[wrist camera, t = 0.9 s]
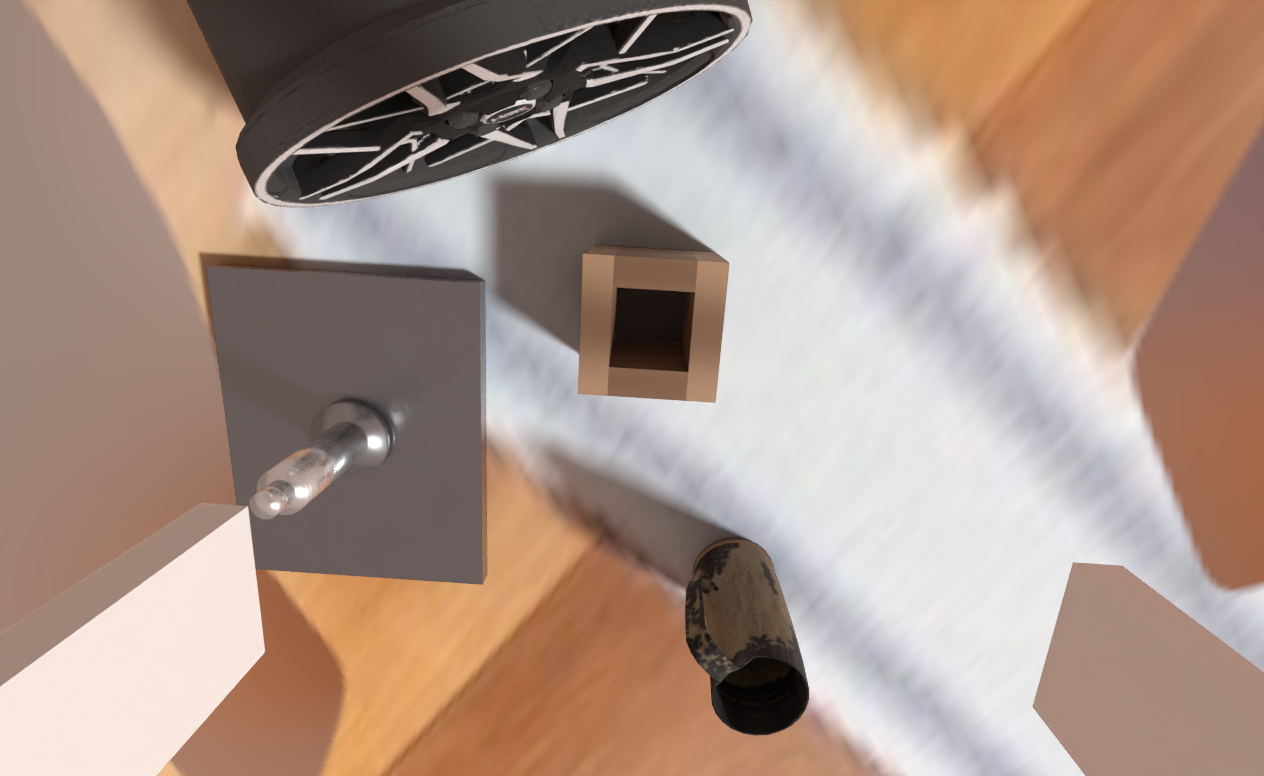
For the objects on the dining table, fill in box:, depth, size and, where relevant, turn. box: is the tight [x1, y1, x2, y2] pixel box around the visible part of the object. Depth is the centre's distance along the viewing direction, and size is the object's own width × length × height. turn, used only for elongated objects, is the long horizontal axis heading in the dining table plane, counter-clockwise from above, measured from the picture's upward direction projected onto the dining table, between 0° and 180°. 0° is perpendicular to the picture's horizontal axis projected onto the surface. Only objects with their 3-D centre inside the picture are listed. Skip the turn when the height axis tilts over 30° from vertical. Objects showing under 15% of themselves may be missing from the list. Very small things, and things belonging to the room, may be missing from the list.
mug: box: [685, 538, 809, 735], centre depth 37 cm, size 8×6×12 cm
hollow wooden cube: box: [578, 245, 729, 403], centre depth 34 cm, size 7×7×7 cm
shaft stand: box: [206, 265, 487, 585], centre depth 35 cm, size 20×16×11 cm
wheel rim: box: [187, 0, 752, 207], centre depth 25 cm, size 20×9×20 cm, turn 109°
